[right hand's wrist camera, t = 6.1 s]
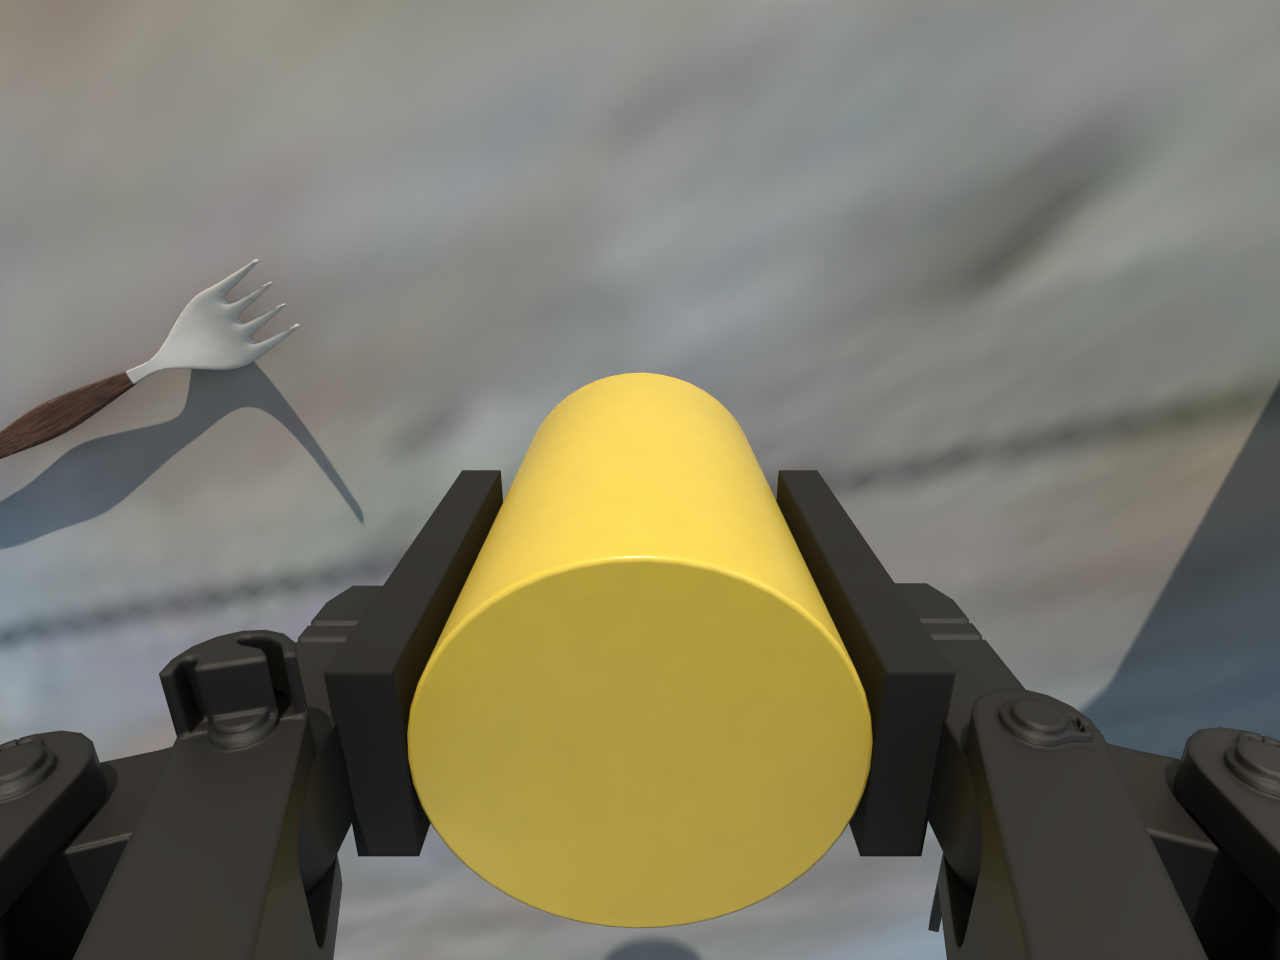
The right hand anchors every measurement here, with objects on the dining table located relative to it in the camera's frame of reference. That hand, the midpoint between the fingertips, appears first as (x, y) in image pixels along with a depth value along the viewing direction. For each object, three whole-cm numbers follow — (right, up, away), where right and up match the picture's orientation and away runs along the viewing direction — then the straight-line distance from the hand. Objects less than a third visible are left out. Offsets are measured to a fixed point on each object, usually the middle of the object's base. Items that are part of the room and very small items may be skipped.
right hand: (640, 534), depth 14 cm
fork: (-18, +4, +10) cm, 21 cm away
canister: (0, +1, +2) cm, 3 cm away
